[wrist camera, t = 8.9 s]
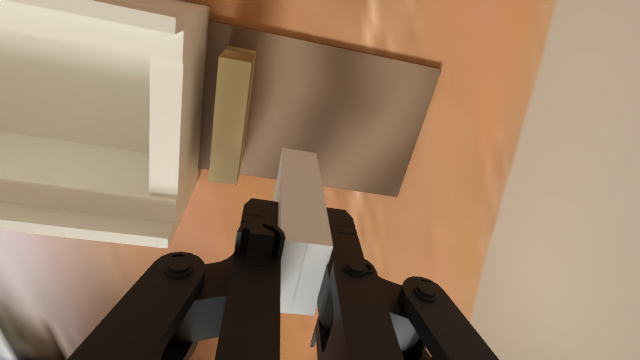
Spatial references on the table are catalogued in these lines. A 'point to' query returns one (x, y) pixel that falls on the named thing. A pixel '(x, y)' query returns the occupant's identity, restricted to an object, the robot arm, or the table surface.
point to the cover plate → (309, 109)
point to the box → (100, 116)
